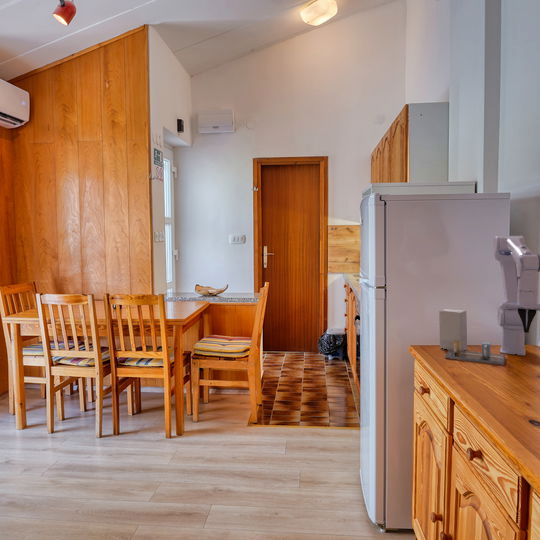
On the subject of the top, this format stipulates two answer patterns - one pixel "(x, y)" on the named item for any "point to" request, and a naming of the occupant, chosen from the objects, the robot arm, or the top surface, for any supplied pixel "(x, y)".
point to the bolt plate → (473, 355)
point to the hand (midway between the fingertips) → (526, 332)
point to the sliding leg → (486, 349)
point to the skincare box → (453, 328)
